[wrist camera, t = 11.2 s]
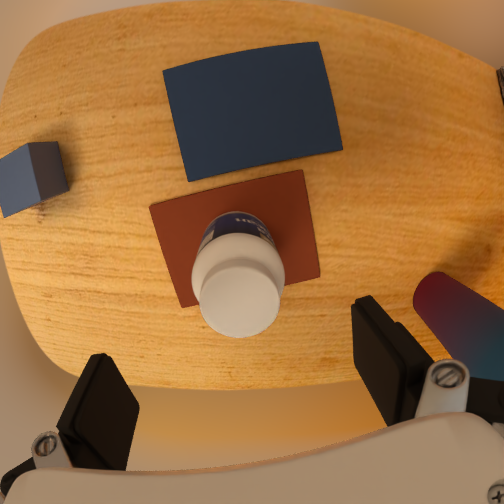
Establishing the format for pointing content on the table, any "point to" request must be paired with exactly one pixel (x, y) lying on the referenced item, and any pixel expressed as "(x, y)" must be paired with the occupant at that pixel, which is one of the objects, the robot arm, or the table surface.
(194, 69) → the blue mat
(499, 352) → the cup
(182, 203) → the rust mat
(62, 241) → the table surface
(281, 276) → the pill bottle
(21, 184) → the blue block
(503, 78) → the rock
